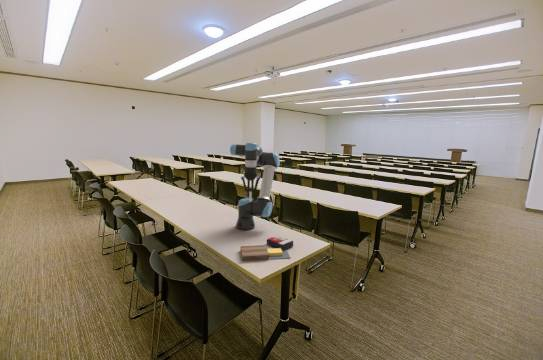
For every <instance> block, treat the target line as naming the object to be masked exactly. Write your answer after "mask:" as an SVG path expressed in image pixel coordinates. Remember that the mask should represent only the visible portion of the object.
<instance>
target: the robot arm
mask: <svg viewBox="0 0 543 360" xmlns="http://www.w3.org/2000/svg"><path fill="white" fill-rule="evenodd" d="M229 152H230V155H231V156H238V157H241V158H243V159H244V166H245V167H244V175H243V176H241V177H240V179H241V181H242V185H243V189H244V191H245V192H247V193H246V195H247V197H245V198H242V199H240V200H238V205H237V206H238V207H237V208H238V209H237V213H238V215H237V216H238V217H237V221H236V223H235V228H236V229H238V230H241V231H251V230H253V229H255V228H256V223H255V220H254V216H255V217H262V218H268V217H270V216H271V214H272V212H273V205H274V204H273V202H272V200H271V198H270V197H271V191H272V186H273V181H274V175H275V171H277V170H278V169H277V168H280V165H281V164H280V163H281V162H280V155H279V153H277V152H264V149H263V147H262V146H261V145H258V143H256V142H246V143H245V144H236V143H235V144H233V143H232V144H231V145H230V147H229ZM257 166H260V167H262V169H263V173H262V179H261V177H260V176H258V173H257ZM245 179H246V181H245ZM260 180H261V184H260V189H259V195H258V196H257V198H256V199H255V200H254V198H253V197H254V192H257V189H258V185H259V181H260ZM254 181H255V184H254ZM246 182H247V185H246ZM250 185H251V187H250Z"/></svg>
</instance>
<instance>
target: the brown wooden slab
mask: <svg viewBox="0 0 543 360" xmlns="http://www.w3.org/2000/svg"><path fill="white" fill-rule="evenodd" d="M267 249H268V248H267V246H266V244H261V245H260V244H259V245H241V246H240V256H241V262H250V261H251V262H252V261H255V262H256V261H269V260H270V259H269V253H268V251H267Z"/></svg>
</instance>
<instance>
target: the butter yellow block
mask: <svg viewBox="0 0 543 360" xmlns="http://www.w3.org/2000/svg"><path fill="white" fill-rule="evenodd" d="M273 248H274V249H272V248H267V251H268V253H269V256H281V255H283V252H282V250H281V248H277V247H273Z"/></svg>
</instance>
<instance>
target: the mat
mask: <svg viewBox="0 0 543 360" xmlns="http://www.w3.org/2000/svg"><path fill="white" fill-rule="evenodd" d="M274 248H275V247H273V248H271V249H274ZM282 252H283V255H281V256H269V260H271V261H272V260H283V259H284V260H286V259H291V256H290V254H289V252H288V250H287V249H285V250H282Z"/></svg>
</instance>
